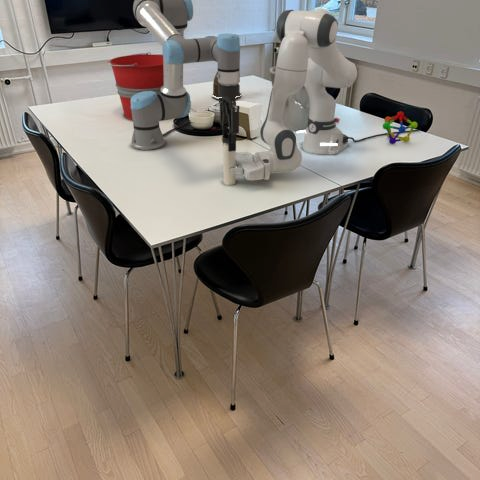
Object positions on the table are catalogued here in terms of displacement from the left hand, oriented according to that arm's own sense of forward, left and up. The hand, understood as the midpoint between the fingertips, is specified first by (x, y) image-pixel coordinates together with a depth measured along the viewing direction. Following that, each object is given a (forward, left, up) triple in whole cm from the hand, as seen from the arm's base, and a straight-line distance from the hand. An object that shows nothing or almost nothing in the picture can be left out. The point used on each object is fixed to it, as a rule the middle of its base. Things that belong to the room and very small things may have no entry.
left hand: (229, 148), depth 164 cm
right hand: (0, -1, -8) cm, 8 cm away
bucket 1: (-84, -59, -14) cm, 103 cm away
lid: (0, 0, +4) cm, 4 cm away
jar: (0, 0, -14) cm, 14 cm away
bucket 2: (-76, +25, -14) cm, 81 cm away
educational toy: (-54, +72, -14) cm, 92 cm away
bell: (-128, -20, -14) cm, 130 cm away
